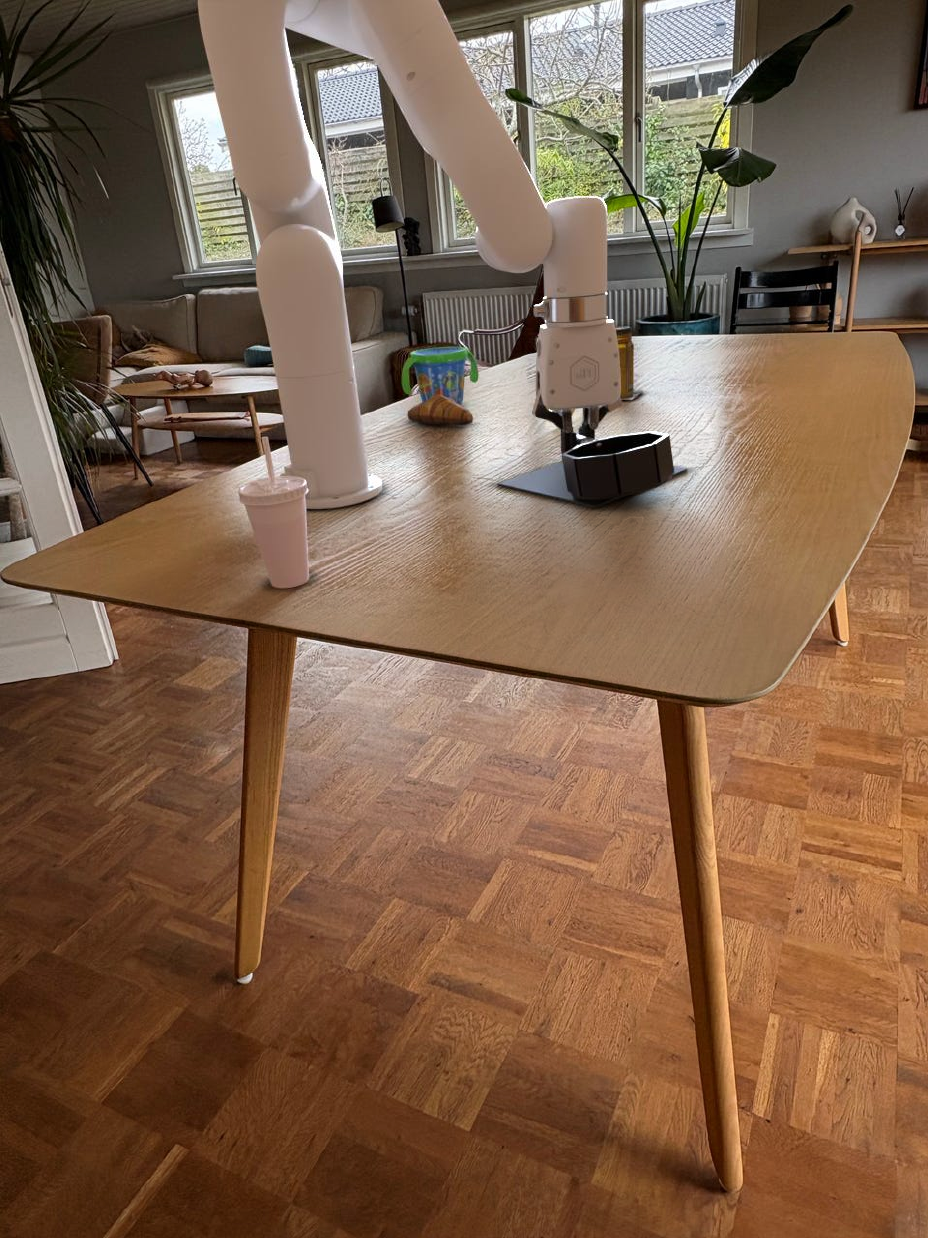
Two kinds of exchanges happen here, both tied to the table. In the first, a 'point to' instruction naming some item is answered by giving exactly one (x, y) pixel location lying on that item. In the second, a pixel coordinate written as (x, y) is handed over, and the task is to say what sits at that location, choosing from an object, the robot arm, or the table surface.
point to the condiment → (626, 363)
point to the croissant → (440, 412)
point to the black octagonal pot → (617, 465)
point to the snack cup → (440, 372)
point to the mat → (556, 485)
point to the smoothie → (279, 524)
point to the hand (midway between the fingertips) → (578, 458)
